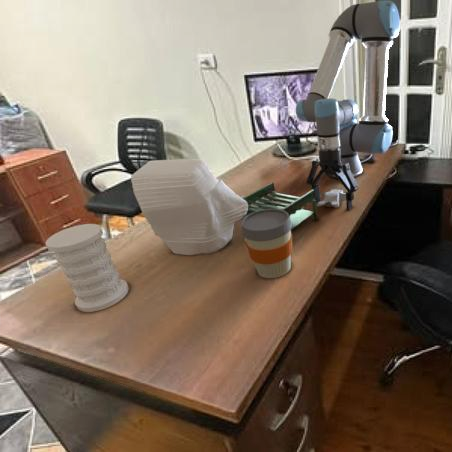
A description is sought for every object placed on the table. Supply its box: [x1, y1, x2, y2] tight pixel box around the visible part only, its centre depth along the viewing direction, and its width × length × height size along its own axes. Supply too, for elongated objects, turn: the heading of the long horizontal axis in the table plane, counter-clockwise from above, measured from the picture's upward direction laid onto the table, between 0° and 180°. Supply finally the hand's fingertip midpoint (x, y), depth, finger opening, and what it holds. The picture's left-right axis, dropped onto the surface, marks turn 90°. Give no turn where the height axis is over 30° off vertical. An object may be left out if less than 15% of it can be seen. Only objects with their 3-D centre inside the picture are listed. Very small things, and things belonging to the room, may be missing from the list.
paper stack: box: [130, 158, 248, 256], centre depth 101 cm, size 21×27×26 cm
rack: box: [242, 181, 319, 232], centre depth 114 cm, size 16×18×11 cm
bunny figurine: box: [316, 189, 346, 208], centre depth 127 cm, size 10×5×15 cm
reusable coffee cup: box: [240, 209, 293, 279], centre depth 91 cm, size 13×13×15 cm
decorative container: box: [45, 223, 130, 313], centre depth 84 cm, size 12×12×18 cm
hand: (333, 205), depth 128 cm, fingers open, 13 cm apart
